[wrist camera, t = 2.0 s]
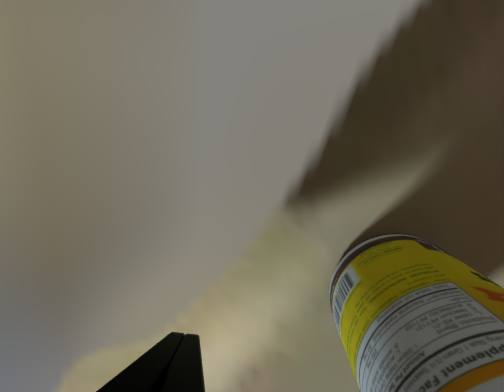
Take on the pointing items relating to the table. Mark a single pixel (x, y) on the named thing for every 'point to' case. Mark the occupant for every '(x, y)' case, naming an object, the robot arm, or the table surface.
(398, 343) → the supplement bottle
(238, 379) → the table surface
